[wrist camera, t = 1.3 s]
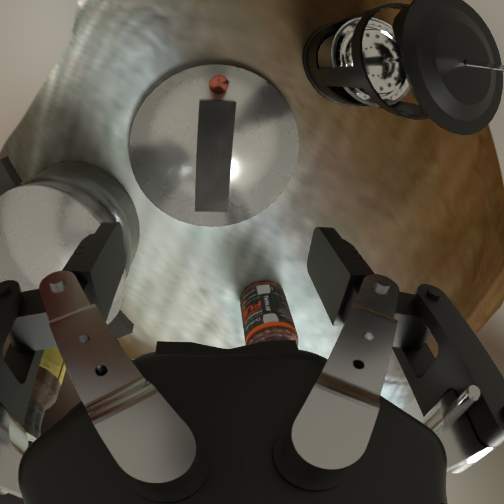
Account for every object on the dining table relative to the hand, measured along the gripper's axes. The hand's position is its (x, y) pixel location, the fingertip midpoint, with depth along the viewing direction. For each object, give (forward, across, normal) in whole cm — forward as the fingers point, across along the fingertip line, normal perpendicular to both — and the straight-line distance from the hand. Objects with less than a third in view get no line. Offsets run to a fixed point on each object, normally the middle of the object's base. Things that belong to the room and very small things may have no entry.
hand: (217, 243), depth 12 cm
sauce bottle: (+20, +23, +25) cm, 39 cm away
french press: (+20, -13, -11) cm, 26 cm away
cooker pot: (+19, +16, +9) cm, 27 cm away
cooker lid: (+20, 0, 0) cm, 20 cm away
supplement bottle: (+20, -7, +19) cm, 28 cm away
